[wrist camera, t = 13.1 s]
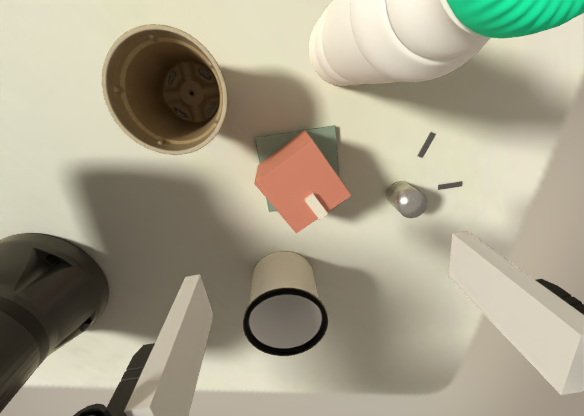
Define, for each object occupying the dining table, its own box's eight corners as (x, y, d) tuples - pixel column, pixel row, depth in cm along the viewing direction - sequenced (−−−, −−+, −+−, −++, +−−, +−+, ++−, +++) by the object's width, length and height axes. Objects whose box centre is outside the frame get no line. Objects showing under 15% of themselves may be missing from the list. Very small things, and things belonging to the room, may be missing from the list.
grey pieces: (386, 206, 37) (399, 220, 33) (385, 139, 33) (399, 145, 30) (460, 195, 37) (481, 207, 33) (466, 126, 33) (491, 130, 30)
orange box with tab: (257, 165, 33) (253, 185, 26) (304, 129, 32) (313, 141, 25) (291, 207, 35) (296, 236, 28) (336, 175, 34) (352, 197, 27)
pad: (269, 210, 36) (269, 211, 35) (255, 137, 32) (255, 138, 32) (340, 198, 36) (341, 200, 35) (333, 125, 32) (335, 126, 32)
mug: (252, 243, 38) (246, 287, 29) (322, 250, 39) (336, 294, 30) (244, 314, 42) (237, 370, 34) (307, 319, 43) (315, 374, 35)
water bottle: (386, 63, 30) (750, -22, 7) (327, 98, 31) (482, 125, 8) (358, -8, 28) (783, -488, 5) (295, 34, 29) (388, -193, 6)
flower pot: (246, 57, 29) (236, 45, 21) (231, 147, 33) (217, 165, 25) (150, 30, 28) (101, 6, 20) (144, 127, 31) (101, 140, 23)
